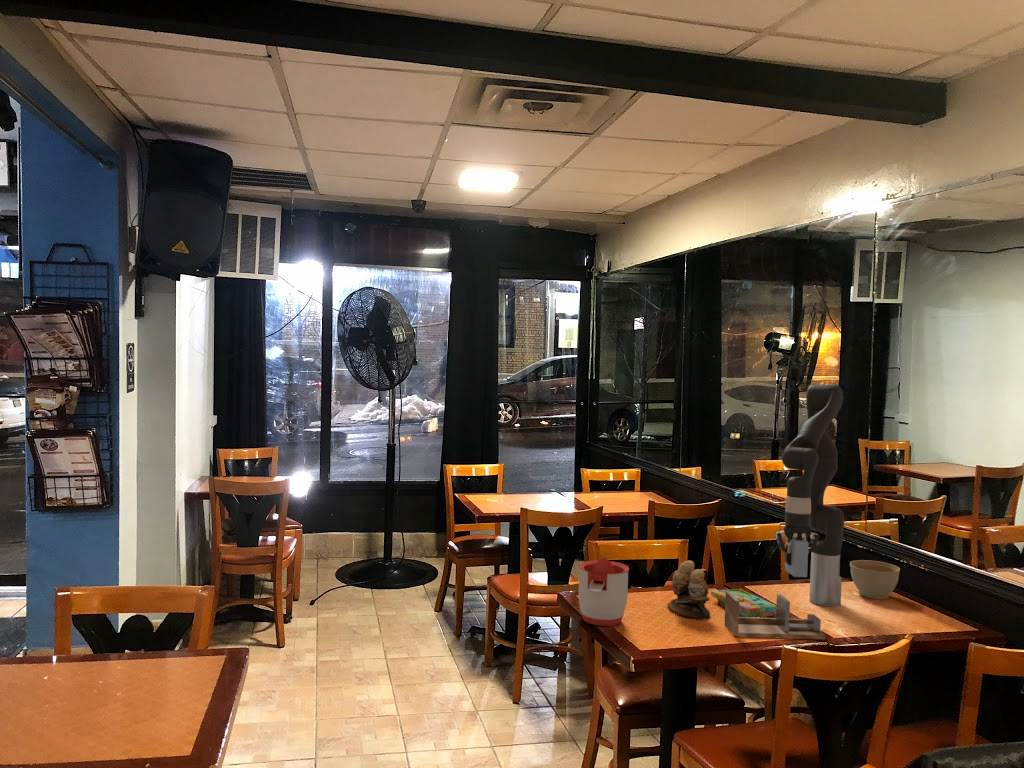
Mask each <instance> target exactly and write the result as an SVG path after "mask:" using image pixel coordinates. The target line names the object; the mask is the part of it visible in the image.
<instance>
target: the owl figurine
mask: <svg viewBox="0 0 1024 768" xmlns="http://www.w3.org/2000/svg"><path fill="white" fill-rule="evenodd" d="M695 565H696V564H695V562H694V561H693V560H686V561H683V562H682V563H681V564H680V566H679V567H678V569H677V570H675V571H674V572H673V576H672V580H671V581H672V582H671V585H672V592H673V594H674V595H676V597H677V598H674V599H671V600H670V601H669V602H668V603H667V610H668V611H669V612H671V611H672V612H673V613H672V612H671V613H672V614H674V613H675V614H674V615H676V614H677V615H676V616H678V615H679V617H680V616H681V617H680V618H683V617H684V619H687V620H696V621H698V620H701V619H706V620H707V619H710V617H711V611H710V610H709V609H708V608H707V607H706V603H707V602H709V601H710V597H709V596H708V594H709V593H710V591H709V587H708V585H707V582H706V581H705V576H706V573H705V572H704V571H703V570H701V569H698V568H697V569H695Z"/></svg>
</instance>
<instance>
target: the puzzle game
mask: <svg viewBox="0 0 1024 768" xmlns="http://www.w3.org/2000/svg"><path fill="white" fill-rule="evenodd" d="M726 591H730V592H731V593H732V594H733V595H734V596H735V597H736V598H737V599H738V600H739V616H740V617H755V618H757V617H761V618H768V617H767V616H771V617H773V615H774V614H776V605H777V604H776V605H775V604H774V603H772V602H769V601H767V600H765V599H763V598H761V597H759V596H757V595H755V594H752V593H750V592H748V591H746V590H744V589H742V588H733V589H731V588H730V589H720V590H719V589H716V590H714V589H713V590H710V595H711V596H712V597H714V598H716V599H717V601H718V604H719V605H721V606H723V607H724V606H725V599H726Z"/></svg>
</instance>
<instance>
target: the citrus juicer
mask: <svg viewBox="0 0 1024 768" xmlns="http://www.w3.org/2000/svg"><path fill="white" fill-rule="evenodd" d="M578 571H579V574H578V603H579V605H578V606H579V609H580V614H581V616H582V620H583V621H584V622H586V624H590V625H595V626H600V627H601V626H603V627H613V626H616V625H619V624H620V623H621V622H622V620H623V617H624V614H625V612H626V607H627V603H628V594H629V593H628V587H629V572H630V568H629V566H628V565H626V564H623V563H622V562H617V561H611V560H609V559H608V558H607V557H606V556H602V557H601V558H599V559H598V560H594V559H593V560H586V561H582V562H581V563H579V564H578Z"/></svg>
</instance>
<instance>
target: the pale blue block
mask: <svg viewBox="0 0 1024 768" xmlns="http://www.w3.org/2000/svg"><path fill="white" fill-rule="evenodd" d="M786 541H787V537H786V536H785V542H786ZM789 542H790V541H789ZM808 546H809V541H808V540H807V541H806V540H793V546H792V551H791V554H792V555H791V565H787V563H786V562H785V561H784V571H786V572H787V573H788V574H789V575H791V576H792V577H793V578H807V577H808V566H809V565H808V561H809V553H808Z"/></svg>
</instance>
